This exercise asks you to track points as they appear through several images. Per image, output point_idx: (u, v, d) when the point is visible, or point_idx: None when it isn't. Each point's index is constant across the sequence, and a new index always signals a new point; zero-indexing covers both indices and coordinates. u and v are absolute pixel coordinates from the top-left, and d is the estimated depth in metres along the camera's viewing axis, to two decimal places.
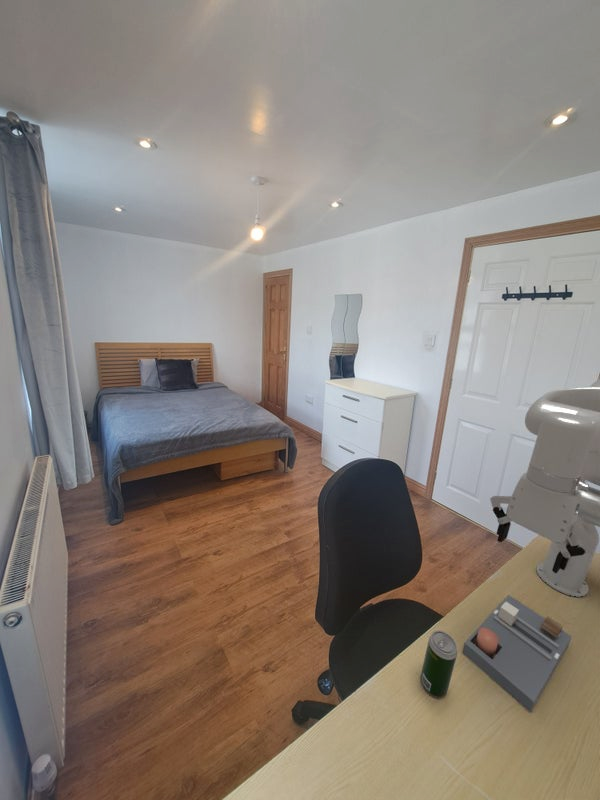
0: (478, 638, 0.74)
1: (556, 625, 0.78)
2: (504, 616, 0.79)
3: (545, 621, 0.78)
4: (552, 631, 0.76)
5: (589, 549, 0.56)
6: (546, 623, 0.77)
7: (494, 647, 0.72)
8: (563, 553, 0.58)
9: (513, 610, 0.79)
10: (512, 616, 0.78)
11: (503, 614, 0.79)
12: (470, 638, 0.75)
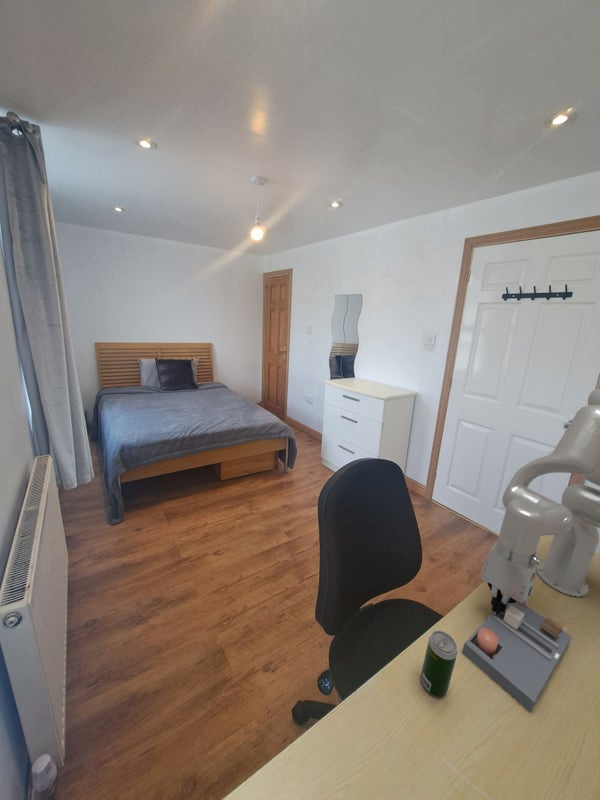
0: (478, 638, 0.74)
1: (556, 625, 0.78)
2: (509, 620, 0.78)
3: (545, 621, 0.78)
4: (552, 631, 0.76)
5: (520, 604, 0.77)
6: (546, 623, 0.77)
7: (494, 647, 0.72)
8: (502, 600, 0.79)
9: (519, 614, 0.78)
10: (518, 620, 0.77)
11: (508, 618, 0.78)
12: (470, 638, 0.75)
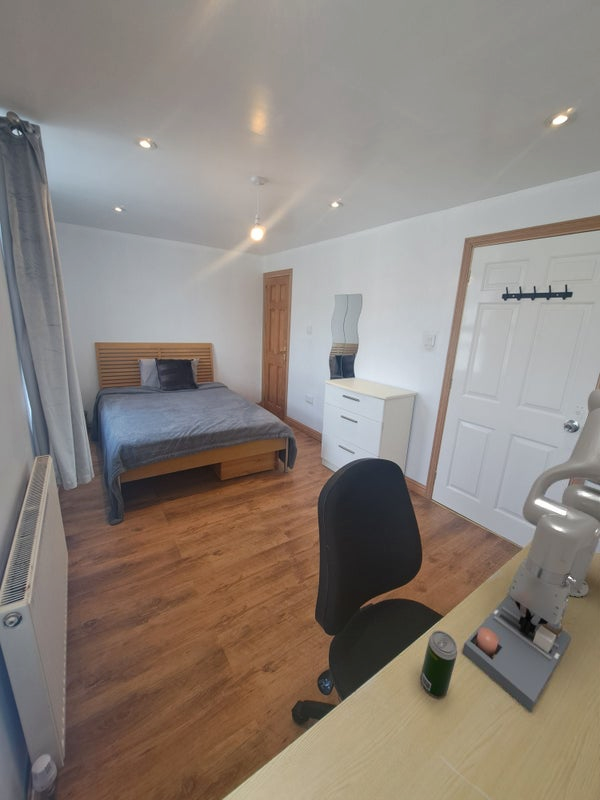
0: (478, 638, 0.74)
1: None
2: (540, 642, 0.73)
3: None
4: (552, 631, 0.76)
5: (552, 626, 0.72)
6: None
7: (494, 647, 0.72)
8: (532, 621, 0.74)
9: (550, 636, 0.73)
10: (550, 642, 0.72)
11: (539, 640, 0.73)
12: (470, 638, 0.75)
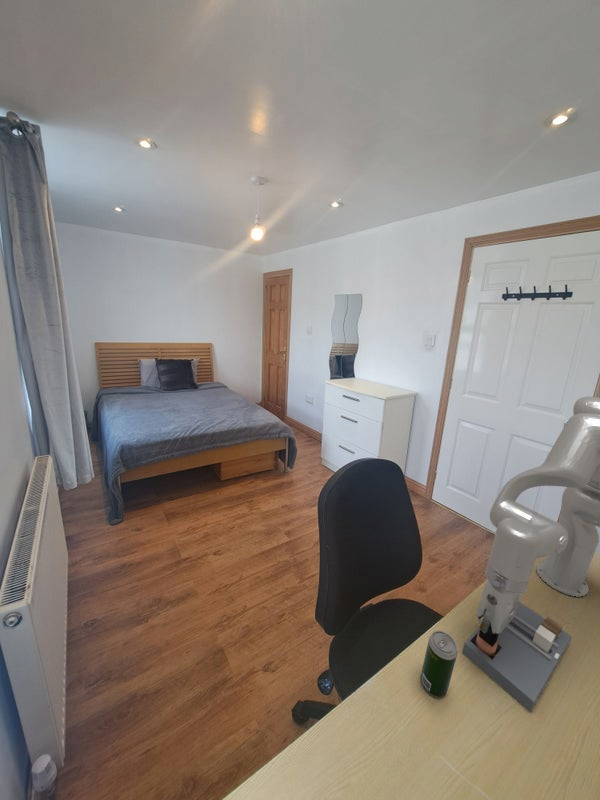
0: (477, 641, 0.74)
1: (556, 625, 0.78)
2: (540, 642, 0.73)
3: (545, 621, 0.78)
4: (552, 631, 0.76)
5: None
6: (546, 623, 0.77)
7: (493, 650, 0.72)
8: None
9: (549, 635, 0.73)
10: (549, 642, 0.72)
11: (538, 639, 0.73)
12: (470, 638, 0.75)
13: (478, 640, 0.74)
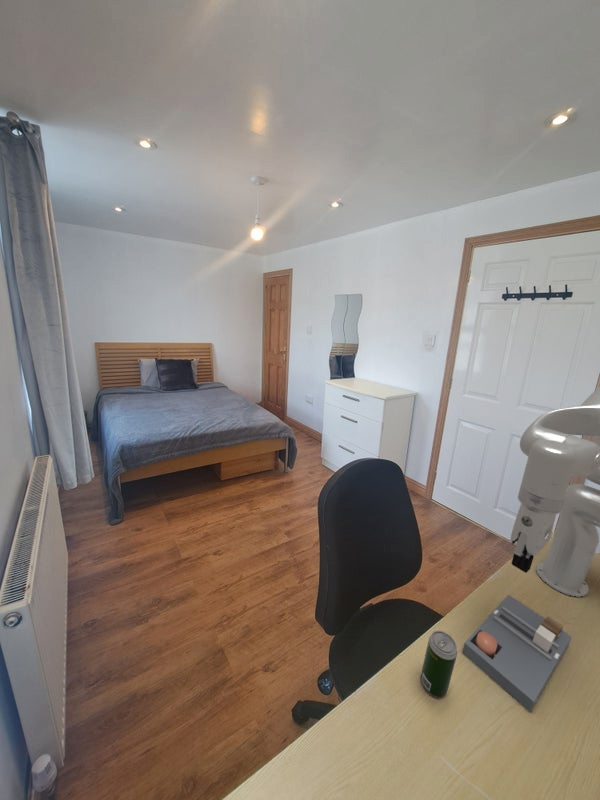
0: (477, 642, 0.74)
1: (556, 625, 0.78)
2: (540, 642, 0.73)
3: (545, 621, 0.78)
4: (552, 631, 0.76)
5: None
6: (546, 623, 0.77)
7: (493, 651, 0.72)
8: None
9: (549, 635, 0.73)
10: (549, 642, 0.72)
11: (538, 639, 0.73)
12: (470, 638, 0.75)
13: (478, 641, 0.74)
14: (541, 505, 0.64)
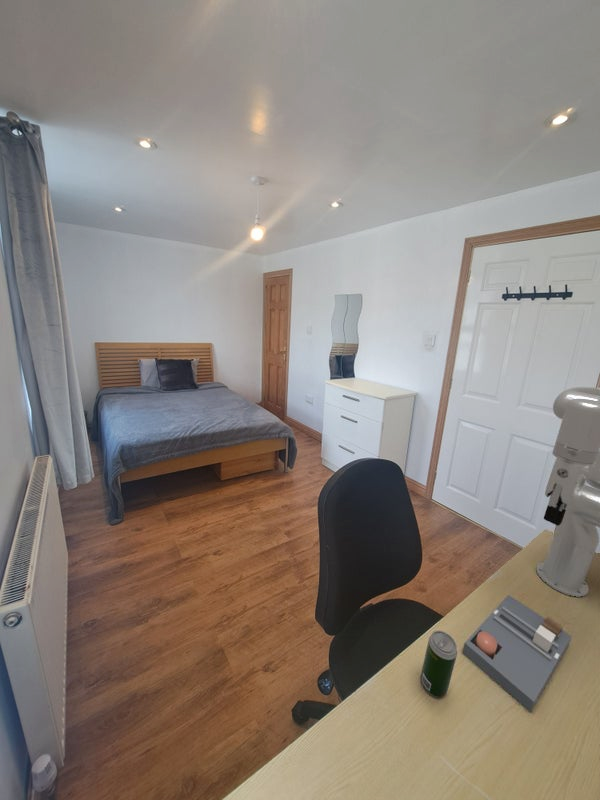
0: (477, 642, 0.74)
1: (556, 625, 0.78)
2: (540, 642, 0.73)
3: (545, 621, 0.78)
4: (552, 631, 0.76)
5: None
6: (546, 623, 0.77)
7: (493, 651, 0.72)
8: None
9: (549, 635, 0.73)
10: (549, 642, 0.72)
11: (538, 639, 0.73)
12: (470, 638, 0.75)
13: (478, 641, 0.74)
14: (577, 457, 0.69)
